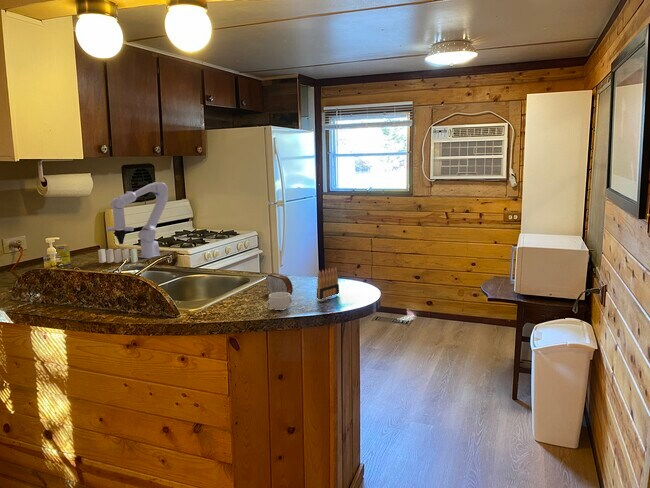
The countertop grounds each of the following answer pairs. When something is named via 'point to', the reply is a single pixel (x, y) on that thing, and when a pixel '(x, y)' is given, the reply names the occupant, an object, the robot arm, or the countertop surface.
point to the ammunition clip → (327, 283)
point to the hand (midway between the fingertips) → (121, 243)
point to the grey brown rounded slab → (278, 283)
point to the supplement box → (63, 253)
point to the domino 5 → (134, 255)
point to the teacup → (279, 300)
